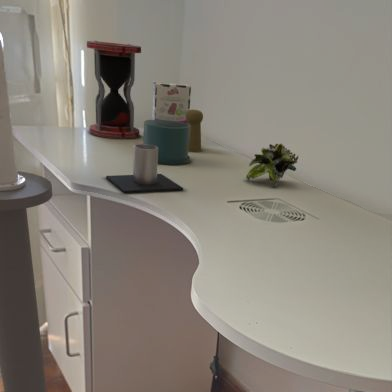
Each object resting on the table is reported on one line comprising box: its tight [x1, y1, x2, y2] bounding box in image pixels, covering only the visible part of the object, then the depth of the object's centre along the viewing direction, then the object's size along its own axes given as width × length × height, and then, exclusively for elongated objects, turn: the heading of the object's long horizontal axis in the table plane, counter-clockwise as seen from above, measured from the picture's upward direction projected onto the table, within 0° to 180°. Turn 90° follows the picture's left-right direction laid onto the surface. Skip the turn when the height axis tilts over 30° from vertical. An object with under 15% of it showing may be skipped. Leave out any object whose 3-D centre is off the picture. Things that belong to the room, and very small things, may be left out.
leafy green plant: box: [245, 143, 299, 188], centre depth 116 cm, size 11×11×12 cm
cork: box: [186, 109, 204, 153], centre depth 141 cm, size 6×6×11 cm
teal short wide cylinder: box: [142, 119, 191, 166], centre depth 128 cm, size 14×14×9 cm
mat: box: [105, 173, 184, 194], centre depth 107 cm, size 14×12×1 cm
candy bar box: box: [151, 82, 192, 124], centre depth 147 cm, size 11×5×16 cm, turn 104°
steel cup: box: [132, 143, 159, 185], centre depth 105 cm, size 5×5×8 cm
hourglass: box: [86, 40, 142, 139], centre depth 147 cm, size 16×16×25 cm
